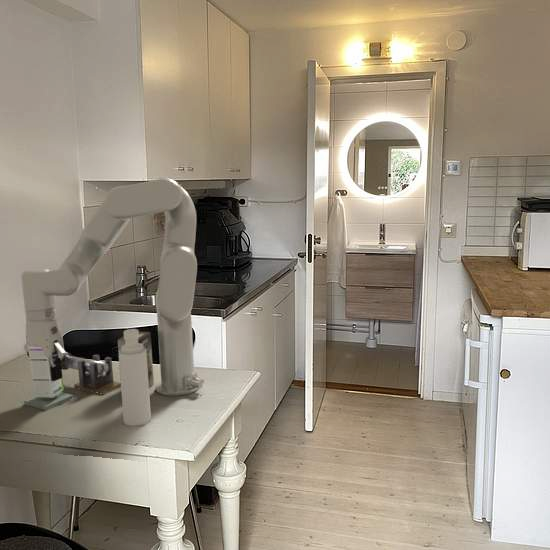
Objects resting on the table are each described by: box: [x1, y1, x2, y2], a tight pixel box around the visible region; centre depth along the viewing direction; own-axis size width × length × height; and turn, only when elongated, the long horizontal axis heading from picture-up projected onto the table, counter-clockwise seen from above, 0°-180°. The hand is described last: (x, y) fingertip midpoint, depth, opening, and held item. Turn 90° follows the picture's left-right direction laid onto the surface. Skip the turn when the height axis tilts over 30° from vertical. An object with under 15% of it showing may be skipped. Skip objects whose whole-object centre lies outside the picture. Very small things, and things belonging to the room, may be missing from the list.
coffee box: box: [117, 331, 155, 395], centre depth 163 cm, size 9×6×16 cm
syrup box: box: [28, 345, 65, 398], centre depth 155 cm, size 6×6×14 cm
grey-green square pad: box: [23, 391, 74, 411], centre depth 157 cm, size 9×9×1 cm
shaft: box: [61, 351, 109, 375], centre depth 169 cm, size 18×5×5 cm, turn 60°
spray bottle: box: [117, 328, 152, 427], centre depth 141 cm, size 7×7×25 cm
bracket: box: [73, 354, 121, 395], centre depth 166 cm, size 12×7×8 cm, turn 60°
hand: (47, 376), depth 156 cm, fingers closed on syrup box, 7 cm apart
